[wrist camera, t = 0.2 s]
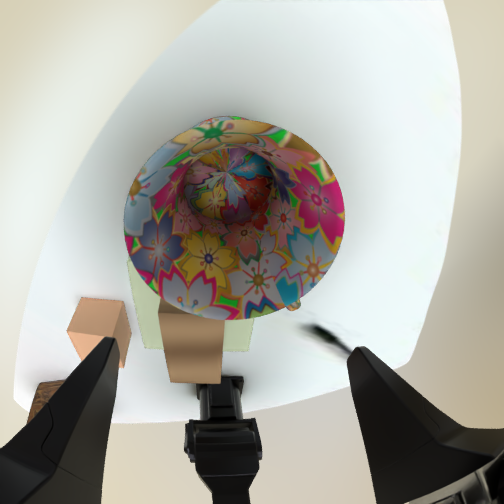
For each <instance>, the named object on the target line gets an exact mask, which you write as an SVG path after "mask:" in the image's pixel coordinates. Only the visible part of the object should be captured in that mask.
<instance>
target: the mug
mask: <svg viewBox="0 0 504 504" xmlns="http://www.w3.org/2000/svg"><path fill="white" fill-rule="evenodd" d="M344 223H345V210H344V203H343V197H342V193H341V190H340V187H339V184H338V181H337V179H336V177H335V175H334V173H333V171H332V170H331V168H330V167H329V165H328V164H327V162H326V161H325V160H324V159H323V157H322V156H321V155H320V154H319V153H318V152H317V151H316V150H315V149H314V148H313V147H312V146H311V145H309V144H308V143H307V142H305V141H304V140H303V139H301V138H299V137H298V136H296V135H294V134H293V133H291V132H289V131H287V130H284V129H282V128H280V127H277V126H274V125H271V124H268V123H263V122H258V121H251V120H248V119H244V118H241V117H234V116H222V117H216V118H211V119H208V120H205V121H203V122H201V123H199V124H197V125H195V126H194V127H193V128H191V129H190V130H188V131H186V132H184V133H182V134H180V135H178V136H176V137H175V138H173V139H171V140H170V141H168V142H167V143H166V144H165V145H163V146H162V147H161V148H160V149H158V150H157V151H156V152H155V153H154V154H153V155H152V156H151V157H150V158H149V159H148V161H147V162H146V163H145V164H144V166H143V167H142V168H141V170H140V172H139V173H138V175H137V176H136V178H135V180H134V182H133V184H132V186H131V189H130V191H129V194H128V197H127V201H126V206H125V211H124V235H125V242H126V246H127V250H128V253H129V256H130V259H131V261H132V263H133V265H134V267H135V269H136V270H137V272H138V274H139V275H140V277H141V278H142V279H143V281H144V282H145V283H146V284H147V285H148V286H149V287H150V289H151V290H153V291H154V292H155V293H156V294H157V295H158V296H159V297H161V298H162V299H163V300H165V301H166V302H168V303H170V304H171V305H173V306H175V307H177V308H179V309H181V310H183V311H185V312H188V313H190V314H194V315H197V316H200V317H205V318H210V319H217V320H243V319H250V318H255V317H260V316H263V315H267V314H270V313H273V312H275V311H278V310H280V309H282V308H284V307H286V308H287V309H288V310H290V311H294V310H296V309H298V308H299V307H300V306H301V303H300V298H301V297H303V296H304V295H305V294H306V293H308V292H309V291H310V290H311V289H312V288H313V287H314V286H315V285H316V284H317V283H318V282H319V281H320V280H321V279H322V278H323V276H324V275H325V274H326V272H327V271H328V269H329V268H330V266H331V265H332V263H333V261H334V259H335V257H336V255H337V253H338V250H339V248H340V244H341V241H342V237H343V232H344Z"/></svg>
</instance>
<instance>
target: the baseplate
mask: <svg viewBox="0 0 504 504" xmlns="http://www.w3.org/2000/svg"><path fill="white" fill-rule="evenodd" d="M127 265H128V272H129V278H130V283H131V289H132V294H133V299H134V304H135V309H136V314H137V318H138V322H139V327H140V331H141V335H142V339H143V343H144V347H145V348H149V349H163V350H164V347H163V342H162V336H161V330H160V324H159V318H158V309H159V304H160V298H161V297H159V296H158V295H157V294H156V293H155V292H154V291H153V290H151V289H150V287H149V286H148V285H147V284H146V283H145V282H144V281H143V279H142V278H141V277H140V275H139V274H138V272H137V270H136V269H135V267H134V265H133V263H132V261H131V259H130V256H129V258H128V260H127ZM253 323H254V318H250V319H243V320H225V326H224V340H223V351H248V350H249V344H250V339H251V334H252V328H253Z"/></svg>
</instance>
